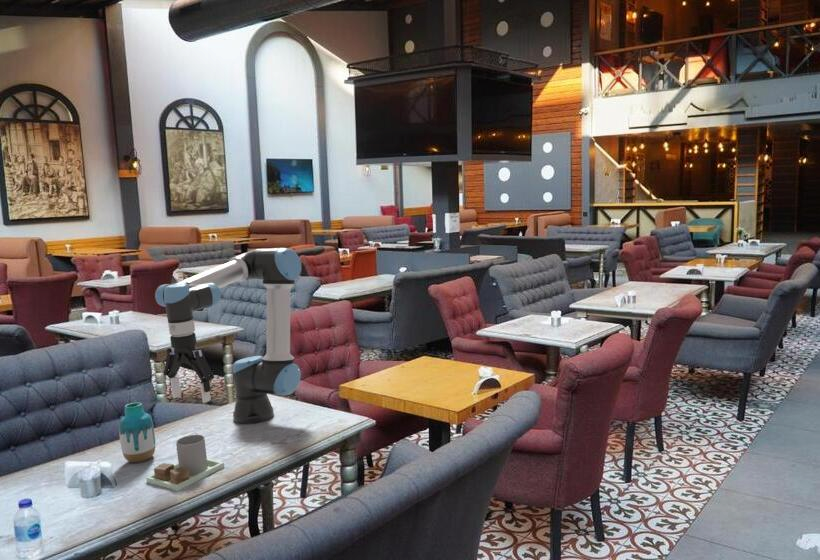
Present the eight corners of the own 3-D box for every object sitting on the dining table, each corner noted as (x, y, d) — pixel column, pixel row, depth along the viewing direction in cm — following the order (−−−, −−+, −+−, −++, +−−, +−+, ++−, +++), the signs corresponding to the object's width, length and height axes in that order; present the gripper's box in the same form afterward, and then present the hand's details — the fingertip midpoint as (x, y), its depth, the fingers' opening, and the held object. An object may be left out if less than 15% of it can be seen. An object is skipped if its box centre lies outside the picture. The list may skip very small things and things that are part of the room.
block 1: (164, 475, 206) (163, 463, 206) (175, 476, 205) (173, 464, 204) (155, 480, 203) (153, 468, 202) (165, 482, 201) (164, 469, 200)
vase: (144, 467, 215) (137, 410, 212) (116, 466, 217) (108, 410, 214) (164, 454, 225) (157, 399, 222) (136, 453, 227) (129, 399, 225)
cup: (199, 476, 204) (195, 445, 202) (174, 475, 205) (170, 445, 204) (212, 464, 212) (209, 434, 210) (188, 464, 213) (185, 434, 212)
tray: (194, 461, 217) (193, 455, 217) (224, 468, 210) (223, 462, 210) (147, 484, 202) (146, 477, 202) (177, 492, 195) (177, 486, 195)
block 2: (184, 478, 203) (182, 466, 202) (189, 482, 200) (188, 469, 199) (171, 483, 200) (169, 470, 199) (177, 487, 197) (175, 474, 197)
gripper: (146, 334, 211) (155, 398, 214) (201, 339, 198) (210, 407, 201) (165, 328, 217) (174, 391, 220) (220, 333, 204) (228, 399, 208)
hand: (191, 399), depth 211 cm, fingers open, 13 cm apart
